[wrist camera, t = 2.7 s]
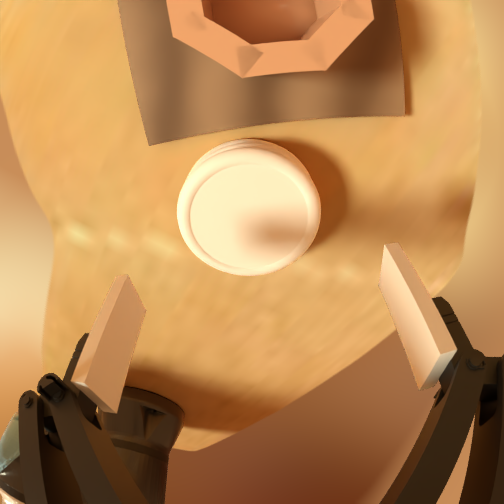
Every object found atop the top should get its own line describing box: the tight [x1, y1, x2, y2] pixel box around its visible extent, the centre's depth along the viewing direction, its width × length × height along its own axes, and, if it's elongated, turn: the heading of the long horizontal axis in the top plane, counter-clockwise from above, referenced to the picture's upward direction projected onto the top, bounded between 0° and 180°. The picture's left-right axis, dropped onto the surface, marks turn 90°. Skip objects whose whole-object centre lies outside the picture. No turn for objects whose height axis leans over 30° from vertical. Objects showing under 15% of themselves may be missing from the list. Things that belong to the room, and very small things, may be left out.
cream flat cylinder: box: [177, 139, 321, 276], centre depth 22 cm, size 10×10×4 cm
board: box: [118, 0, 405, 146], centre depth 14 cm, size 18×16×1 cm
